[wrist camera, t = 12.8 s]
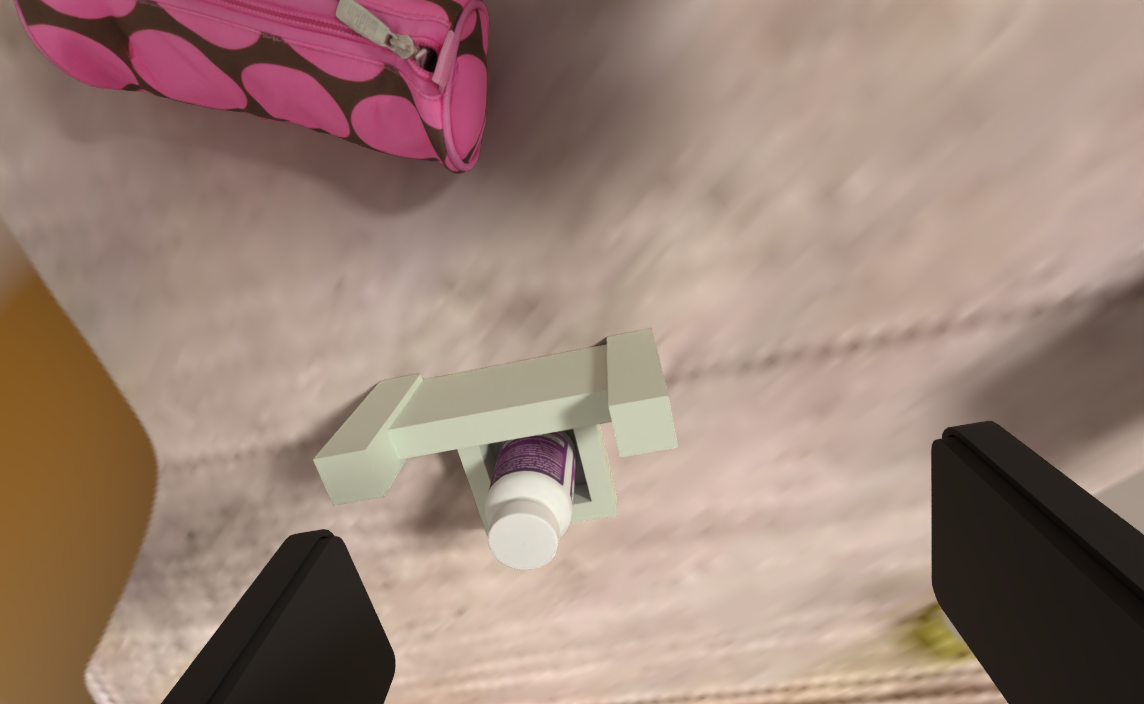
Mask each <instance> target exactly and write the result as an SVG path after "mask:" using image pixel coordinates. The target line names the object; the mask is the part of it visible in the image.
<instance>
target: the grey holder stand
mask: <svg viewBox="0 0 1144 704" xmlns="http://www.w3.org/2000/svg"><path fill="white" fill-rule="evenodd" d="M608 422H612V424H613V429H614V433H615V438H616V442H617V446H618V451H619V455H620V457H625V456H631V455H637V454H643V453H649V452H655V451H661V450H667V449H673V448H678V444H677V439H676V434H675V428H674V423H673V417H672V412H671V406H670V401H669V395H668V391H667V387H666V383H665V379H664V375H663V371H662V367H661V363H660V359H659V355H658V351H657V347H656V343H655V339H654V335H653V331H652V328H650V329H645V330H640V331H635V332H630V333H625V334H620V335H614V336H609V337H607V344H605V345H600V346H595V347H590V348H585V349H580V350H574V351H569V352H564V353H559V354H554V355H549V356H543V357H538V358H533V359H528V360H523V361H518V362H512V363H507V364H502V365H497V366H492V367H487V368H481V369H476V370H471V371H466V372H461V373H456V374H450V375H445V376H440V377H435V378H430V379H425V380H423V378H422V375H421V373H420V374H415V375H409V376H404V377H399V378H394V379H389V380H384V381H380V382H379V383H378V384H377V385H376V386H375V388H374V389H373V390H372V391H371V392H370V393H369V395H368V396H367V397H366V398H365V399H364V400H363V402H362V403H361V404H360V405H359V406H358V407H357V409H356V410H355V411H354V412H353V413H352V414H351V416H350V417H349V418H348V419H347V420H346V421H345V423H344V424H343V425H342V426H341V427H340V428H339V430H338V431H337V432H336V433H335V434H334V435H333V437H332V438H331V439H330V440H329V441H328V442H327V443H326V445H325V446H324V447H323V448H322V449H321V450H320V452H319V453H318V454H317V455H316V456H315V457H314V459H313V461H314V463H315V466H316V468H317V470H318V472H319V475H320V477H321V479H322V481H323V483H324V486H325V488H326V490H327V492H328V495H329V497H330V499H331V501H332V504H333V506H334V505H340V504H346V503H352V502H358V501H364V500H370V499H376V498H382V497H385V495H386V493H387V492H388V490H389V488H390V486H391V485H392V483H393V481H394V480H395V478H396V476H397V474H398V473H399V471H400V469H401V468H402V466H403V464H404V462H405V461H406V459H407V458H410V457H415V456H421V455H427V454H432V453H438V452H444V451H449V450H455V449H457V450H458V453H459V456H460V459H461V461H462V464H463V467H464V470H465V473H466V476H467V479H468V482H469V485H470V488H471V491H472V494H473V497H474V500H475V502H476V505H477V508H478V511H479V514H480V517H481V520H482V523H483V526H484V529H485V532H486V535H487V536H488V533H489V528H490V526H489V524H488V522H487V519H486V515H485V501H486V497H487V493H488V490H489V487H490V483H491V480H492V477H493V473H494V469H495V466H496V463H497V460H498V457H499V454H500V450H501V447H502V444H503V441H506V440H512V439H518V438H523V437H529V436H535V435H540V434H546V433H552V432H557V431H563V430H564V431H565V432H566V433H567V434H568V435H569V436H570V438H571V439H572V441H573V443H574V447H575V452H576V461H575V482H574V496H573V511H572V517H571V521H570V523H575V522H582V521H588V520H595V519H601V518H608V517H614V516H617V494H616V490H615V486H614V481H613V477H612V473H611V469H610V464H609V460H608V456H607V452H606V447H605V443H604V439H603V435H602V430H601V426H600V424H603V423H608Z"/></svg>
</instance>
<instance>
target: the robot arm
mask: <svg viewBox="0 0 1144 704" xmlns="http://www.w3.org/2000/svg"><path fill="white" fill-rule="evenodd" d="M931 480H932V586H933V590H934V593H935V596H936V598H937V601H938V603H939V605H940V606H941V608H942V610H943V611H944V612H945V614H946V615H947V617H948V618H949V619H950V621H951V622H952V624H953V625H954V627H955V628H956V629H957V631H958V632H959V634H960V635H961V637H962V638H963V639H964V641H965V642H966V644H967V645H968V647H969V648H970V649H971V651H972V652H973V654H974V655H975V656H976V658H977V659H978V661H979V662H980V664H981V665H982V666H983V668H984V669H985V671H986V672H987V674H988V675H989V676H990V678H991V679H992V681H993V682H994V684H995V685H996V686H997V688H998V689H999V691H1000V692H1001V694H1002V695H1003V696H1004V698H1005V699H1006V701H1007V702H1008V703H1009V704H1144V535H1143V534H1142V533H1141V532H1139V531H1138V530H1137V529H1135V528H1134V527H1133V526H1131V525H1130V524H1129V523H1128V522H1126V521H1125V520H1124V519H1122V518H1121V517H1120V516H1118V515H1117V514H1116V513H1114V512H1113V511H1112V510H1110V509H1109V508H1108V507H1106V506H1105V505H1104V504H1103V503H1101V502H1100V501H1099V500H1097V499H1096V498H1095V497H1093V496H1092V495H1091V494H1089V493H1088V492H1087V491H1085V490H1084V489H1083V488H1081V487H1080V486H1079V485H1077V484H1076V483H1075V482H1073V481H1072V480H1071V479H1070V478H1068V477H1067V476H1066V475H1064V474H1063V473H1062V472H1060V471H1059V470H1058V469H1056V468H1055V467H1054V466H1052V465H1051V464H1050V463H1048V462H1047V461H1046V460H1044V459H1043V458H1042V457H1040V456H1039V455H1038V454H1037V453H1035V452H1034V451H1033V450H1031V449H1030V448H1029V447H1027V446H1026V445H1025V444H1023V443H1022V442H1021V441H1019V440H1018V439H1017V438H1015V437H1014V436H1013V435H1011V434H1010V433H1009V432H1007V431H1006V430H1005V429H1004V428H1002V427H1001V426H1000V425H998V424H996V423H994V422H993V421H985V422H979V423H972V424H966V425H960V426H954V427H948V428H947V429H945V430H944V432H943V434H942V439H937V440H935V441H934V442H933V444H932V449H931ZM394 673H395V655H394V652H393V649H392V647H391V645H390V643H389V640H388V638H387V636H386V634H385V632H384V629H383V627H382V625H381V623H380V620H379V618H378V616H377V614H376V612H375V609H374V607H373V605H372V603H371V601H370V598H369V596H368V594H367V592H366V590H365V587H364V585H363V583H362V581H361V578H360V576H359V574H358V572H357V570H356V567H355V565H354V563H353V561H352V559H351V556H350V554H349V552H348V550H347V548H346V545H345V543H344V542H343V540H342V539H341V538H340V537H337V536H334V535H333V533H331V532H330V531H329V530H325V529H322V530H316V531H310V532H304V533H298V534H293V535H291V536H289V537H288V538H287V539H286V540H285V541H284V542H283V544H282V545H281V546H280V548H279V549H278V550H277V552H276V553H275V554H274V556H273V557H272V558H271V559H270V561H269V562H268V563H267V565H266V566H265V567H264V569H263V570H262V571H261V573H260V574H259V575H258V577H257V578H256V579H255V581H254V582H253V583H252V585H251V586H250V587H249V588H248V590H247V591H246V592H245V594H244V595H243V596H242V598H241V599H240V600H239V602H238V603H237V604H236V606H235V607H234V608H233V610H232V611H231V612H230V613H229V615H228V616H227V617H226V619H225V620H224V621H223V623H222V624H221V625H220V627H219V628H218V629H217V631H216V632H215V633H214V635H213V636H212V637H211V639H210V640H209V641H208V642H207V644H206V645H205V646H204V648H203V649H202V650H201V652H200V653H199V654H198V656H197V657H196V658H195V660H194V661H193V662H192V664H191V665H190V666H189V668H188V669H187V670H186V671H185V673H184V674H183V675H182V677H181V678H180V679H179V681H178V682H177V683H176V685H175V686H174V687H173V689H172V690H171V691H170V693H169V694H168V695H167V696H166V698H165V699H164V700H163V702H162V703H161V704H384V701H385V699H386V696H387V693H388V691H389V688H390V685H391V683H392V680H393V677H394Z"/></svg>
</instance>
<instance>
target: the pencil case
mask: <svg viewBox="0 0 1144 704" xmlns="http://www.w3.org/2000/svg"><path fill="white" fill-rule="evenodd" d="M14 3H15V7H16V10H17V13H18V15H19V18H20V20H21V22H22V24H23V26H24V28H25V30H26V32H27V34H28V35H29V37H30V38H31V40H32V41H33V43H34V44H35V45H36V47H37V48H38V49H39V50H40V51H41V52H42V54H43V55H44V56H45V57H46V58H47V59H48V60H50V61H51V62H52V63H53V64H54V65H55V66H57V67H58V68H59V69H61V70H62V71H63V72H65V73H66V74H68V75H69V76H71V77H73V78H75V79H77V80H79V81H81V82H83V83H85V84H87V85H90V86H93V87H98V88H106V89H115V90H127V91H142V92H150V93H153V94H155V95H158V96H160V97H164V98H170V99H173V100H177V101H180V102H185V103H189V104H195V105H200V106H204V107H209V108H213V109H221V110H229V111H237V112H244V113H250V114H253V115H255V116H257V117H260V118H263V119H266V120H272V121H277V122H290V123H297V124H300V125H302V126H305V127H307V128H309V129H312V130H315V131H318V132H322V133H327V134H333V135H335V136H337V137H340V138H342V139H345V140H347V141H350V142H353V143H355V144H358V145H361V146H364V147H366V148H369V149H372V150H375V151H379V152H383V153H387V154H391V155H396V156H401V157H407V158H413V159H421V160H429V161H436V162H440V163H442V164H443V165H444V166H445V167H446V168H447V169H448V170H450V171H452V172H454V173H464V172H466V171H469V170H471V169H472V168H473V167H474V166H475V164H476V162H477V160H478V157H479V153H480V148H481V139H482V135H483V131H484V127H485V123H486V115H487V46H488V36H489V15H488V11H487V8H486V6H485V4H484V2H483V1H482V0H14Z"/></svg>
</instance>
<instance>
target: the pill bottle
mask: <svg viewBox="0 0 1144 704" xmlns="http://www.w3.org/2000/svg"><path fill="white" fill-rule="evenodd" d="M575 461H576V452H575V447H574V443H573V441H572V439H571V438H570V436H569V435H568V434H567V433H566V432H565V431H564V430H563V431H557V432H552V433H546V434H540V435H535V436H529V437H523V438H518V439H512V440H506V441H503V444H502V447H501V450H500V454H499V457H498V460H497V463H496V466H495V469H494V473H493V477H492V480H491V483H490V487H489V490H488V493H487V497H486V501H485V515H486V519H487V522H488V524H489V526H490V528H489V533H488V545H489V548H490V550H491V552H492V554H493V555H494V557H495V558H496V559H497V560H498V561H500V562H501V563H503V564H504V565H506V566H508V567H511V568H514V569H520V570H530V569H535V568H539V567H542V566H543V565H545V564H547V563H548V562H549V561H550V560H551V559H552V558H553V557H554V555H555V553H556V551H557V548H558V541H559V538H560V537H561V536H562V535H563V534H564V533H565V531H566V530H567V528H568V526H569V524H570V521H571V517H572V511H573V496H574V482H575Z"/></svg>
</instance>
